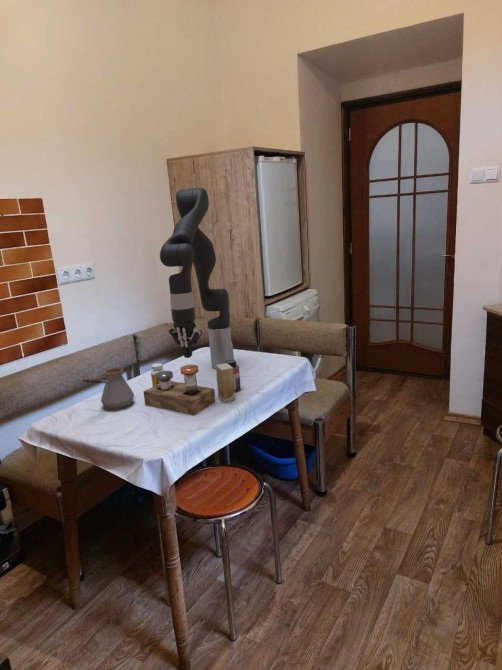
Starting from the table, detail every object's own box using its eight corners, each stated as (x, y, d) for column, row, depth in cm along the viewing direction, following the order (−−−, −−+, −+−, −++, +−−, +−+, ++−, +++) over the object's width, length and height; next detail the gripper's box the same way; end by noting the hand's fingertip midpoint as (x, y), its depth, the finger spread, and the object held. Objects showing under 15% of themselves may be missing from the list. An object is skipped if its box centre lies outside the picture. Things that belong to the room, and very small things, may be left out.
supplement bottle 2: (221, 390, 175) (218, 361, 172) (232, 385, 180) (230, 357, 177) (232, 394, 171) (230, 364, 168) (244, 388, 176) (241, 359, 173)
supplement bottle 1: (163, 385, 185) (160, 361, 183) (169, 388, 181) (166, 364, 179) (150, 388, 183) (147, 364, 180) (156, 392, 178) (153, 368, 176)
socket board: (168, 392, 177) (166, 380, 176) (215, 402, 165) (214, 388, 164) (145, 404, 167) (143, 391, 166) (193, 415, 156) (192, 401, 154)
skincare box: (218, 397, 169) (215, 364, 166) (229, 394, 171) (226, 362, 168) (224, 403, 164) (221, 369, 161) (235, 400, 165) (233, 367, 162)
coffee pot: (115, 397, 176) (109, 359, 172) (141, 400, 172) (136, 360, 168) (75, 422, 157) (67, 379, 153) (103, 425, 153) (95, 381, 149)
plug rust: (190, 389, 166) (188, 363, 164) (204, 392, 163) (201, 365, 160) (179, 395, 161) (176, 369, 159) (193, 398, 158) (190, 371, 156)
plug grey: (166, 394, 173) (163, 369, 171) (179, 397, 170) (176, 371, 168) (155, 400, 169) (151, 375, 166) (167, 403, 165) (164, 377, 163)
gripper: (205, 304, 154) (210, 356, 158) (174, 303, 161) (180, 352, 165) (190, 309, 148) (196, 362, 152) (159, 307, 155) (165, 358, 159)
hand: (187, 357), depth 159 cm, fingers closed
